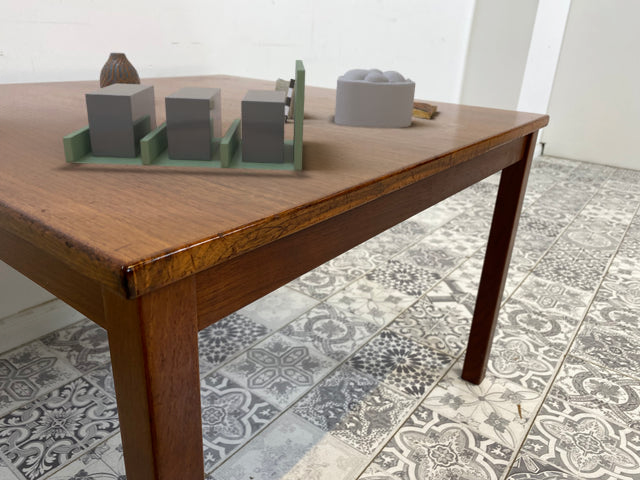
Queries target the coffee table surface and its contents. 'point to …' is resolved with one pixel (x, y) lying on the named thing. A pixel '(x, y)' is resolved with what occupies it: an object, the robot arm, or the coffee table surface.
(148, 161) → the book rack
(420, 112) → the brown yellow flat block
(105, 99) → the gray rectangular block
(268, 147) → the clay tablet
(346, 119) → the lumpy-topped squat cylinder
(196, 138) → the clay tablet
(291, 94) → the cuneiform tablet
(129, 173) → the coffee table surface
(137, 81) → the vase
